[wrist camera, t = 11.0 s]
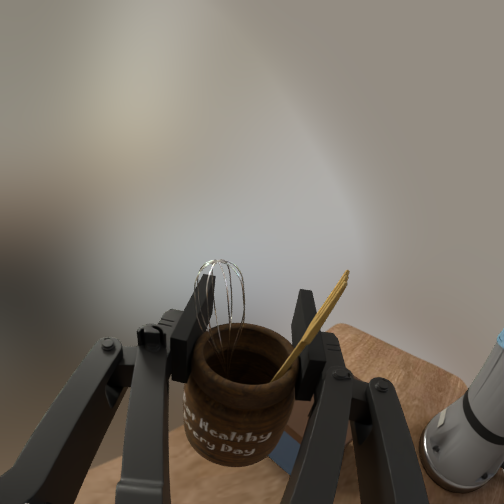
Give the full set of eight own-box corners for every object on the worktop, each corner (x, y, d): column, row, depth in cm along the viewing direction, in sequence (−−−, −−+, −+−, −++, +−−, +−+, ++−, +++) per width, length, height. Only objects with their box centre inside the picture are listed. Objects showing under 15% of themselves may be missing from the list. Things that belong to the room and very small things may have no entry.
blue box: (358, 442, 29) (389, 397, 26) (301, 495, 22) (330, 459, 19) (298, 398, 37) (316, 350, 33) (236, 435, 30) (246, 388, 26)
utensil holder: (210, 386, 19) (229, 221, 15) (294, 418, 17) (352, 253, 13) (164, 442, 14) (155, 254, 10) (264, 486, 12) (341, 313, 8)
